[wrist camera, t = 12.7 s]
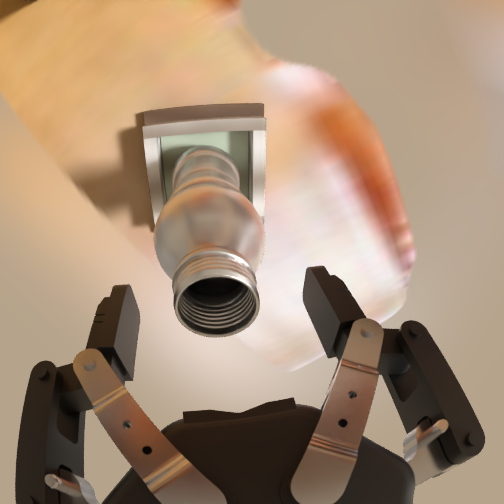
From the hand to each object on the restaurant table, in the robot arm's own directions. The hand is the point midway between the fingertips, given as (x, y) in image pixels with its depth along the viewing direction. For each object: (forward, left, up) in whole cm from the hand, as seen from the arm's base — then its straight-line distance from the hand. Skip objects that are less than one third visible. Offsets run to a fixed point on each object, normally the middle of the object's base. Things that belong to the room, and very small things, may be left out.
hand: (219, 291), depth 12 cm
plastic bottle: (0, 0, -19) cm, 19 cm away
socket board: (0, 0, -20) cm, 20 cm away
